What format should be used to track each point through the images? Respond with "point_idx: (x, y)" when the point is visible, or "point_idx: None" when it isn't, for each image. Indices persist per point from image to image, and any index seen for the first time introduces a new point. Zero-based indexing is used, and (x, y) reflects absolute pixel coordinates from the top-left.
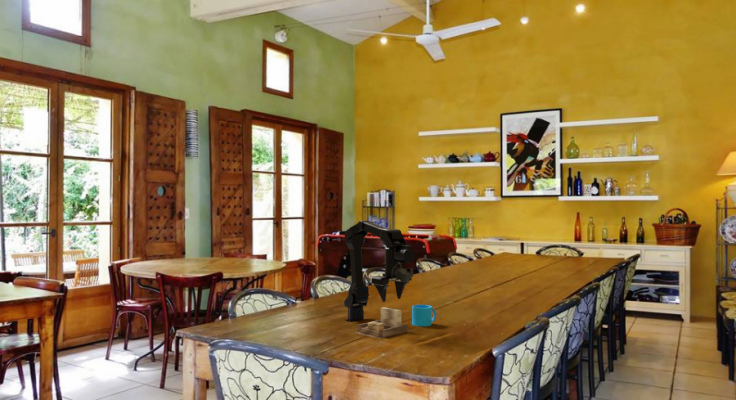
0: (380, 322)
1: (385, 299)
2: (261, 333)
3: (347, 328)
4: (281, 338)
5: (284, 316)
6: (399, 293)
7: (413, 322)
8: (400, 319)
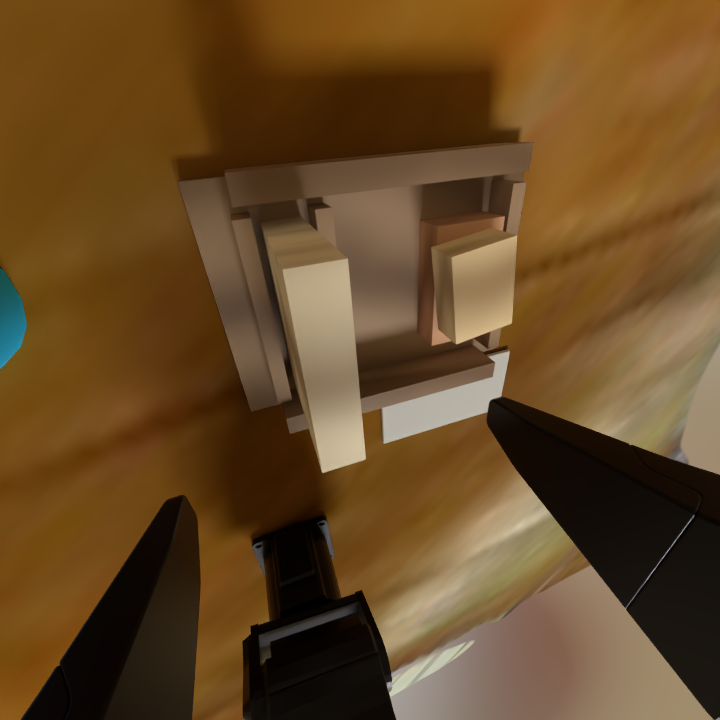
0: None
1: (517, 411)
2: None
3: (420, 447)
4: (639, 414)
5: (435, 611)
6: (170, 588)
7: (4, 334)
8: (284, 239)
